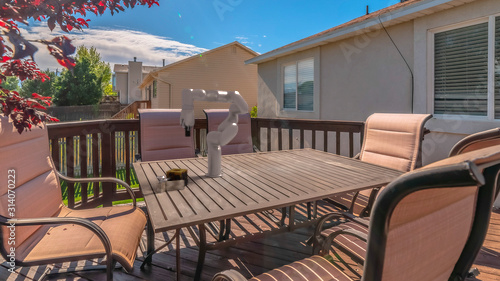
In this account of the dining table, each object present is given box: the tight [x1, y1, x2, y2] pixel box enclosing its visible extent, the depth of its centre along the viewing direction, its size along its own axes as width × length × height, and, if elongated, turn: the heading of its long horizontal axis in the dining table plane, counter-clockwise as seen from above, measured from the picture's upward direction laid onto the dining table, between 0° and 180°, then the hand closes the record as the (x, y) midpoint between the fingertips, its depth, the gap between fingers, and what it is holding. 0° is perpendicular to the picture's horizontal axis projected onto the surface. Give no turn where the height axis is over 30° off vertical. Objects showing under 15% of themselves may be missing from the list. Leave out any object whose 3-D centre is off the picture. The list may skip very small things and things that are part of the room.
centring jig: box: [156, 177, 185, 194], centre depth 168 cm, size 13×16×5 cm
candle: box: [165, 168, 189, 188], centre depth 176 cm, size 10×10×10 cm
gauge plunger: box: [156, 175, 172, 183], centre depth 166 cm, size 11×4×4 cm, turn 156°
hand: (187, 136), depth 187 cm, fingers closed
